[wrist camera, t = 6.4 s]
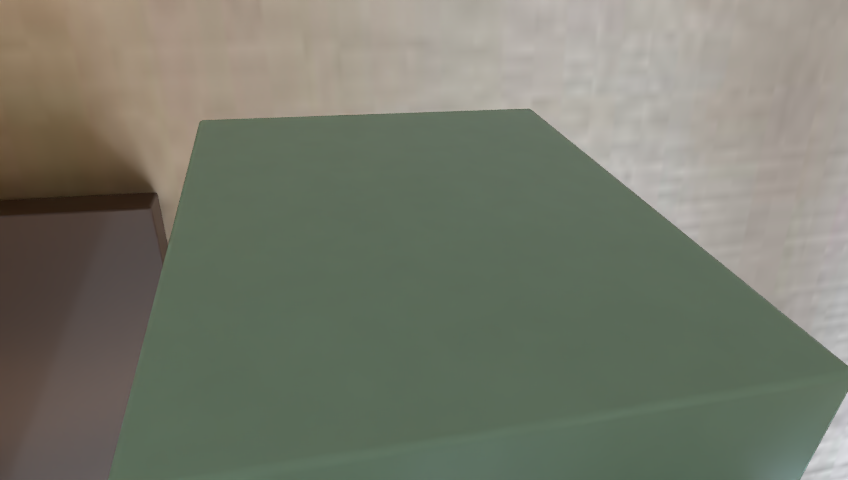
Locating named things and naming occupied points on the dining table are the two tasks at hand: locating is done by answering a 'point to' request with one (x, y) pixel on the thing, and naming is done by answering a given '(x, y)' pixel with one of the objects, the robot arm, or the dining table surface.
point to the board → (72, 327)
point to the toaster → (453, 318)
